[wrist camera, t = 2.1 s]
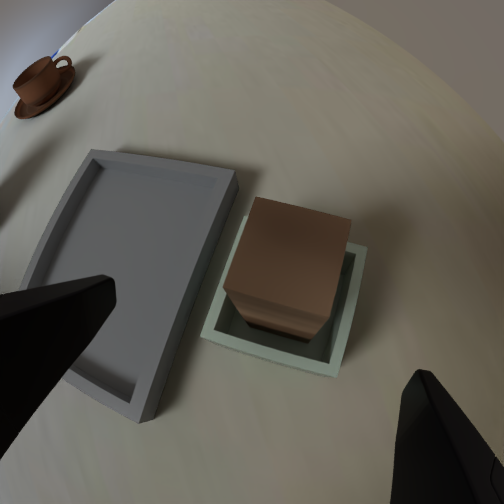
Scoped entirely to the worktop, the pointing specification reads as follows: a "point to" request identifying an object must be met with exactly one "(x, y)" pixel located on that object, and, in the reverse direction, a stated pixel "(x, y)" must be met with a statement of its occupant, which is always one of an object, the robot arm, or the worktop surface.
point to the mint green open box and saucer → (42, 85)
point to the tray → (134, 264)
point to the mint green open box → (284, 349)
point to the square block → (287, 268)
